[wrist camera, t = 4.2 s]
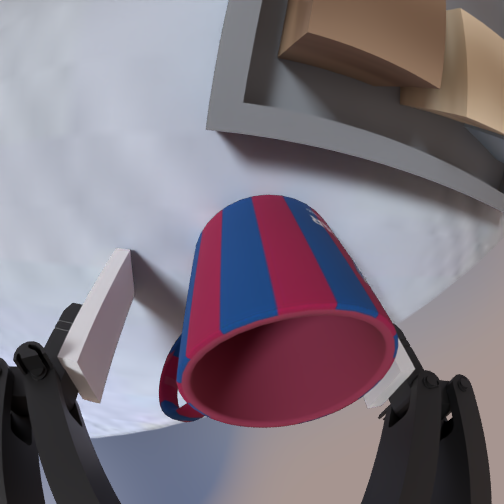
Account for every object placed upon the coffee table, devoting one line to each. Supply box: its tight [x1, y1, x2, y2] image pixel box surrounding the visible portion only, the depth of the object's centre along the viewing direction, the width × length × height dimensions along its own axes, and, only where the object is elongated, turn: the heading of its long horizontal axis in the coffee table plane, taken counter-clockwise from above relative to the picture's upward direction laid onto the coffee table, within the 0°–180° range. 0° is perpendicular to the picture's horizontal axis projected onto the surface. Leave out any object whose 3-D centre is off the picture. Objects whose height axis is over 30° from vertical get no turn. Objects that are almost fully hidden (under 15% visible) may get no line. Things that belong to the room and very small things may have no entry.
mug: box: [159, 195, 398, 428], centre depth 10 cm, size 7×10×7 cm
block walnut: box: [277, 0, 446, 89], centre depth 5 cm, size 4×4×4 cm
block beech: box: [400, 8, 504, 136], centre depth 6 cm, size 4×4×4 cm
